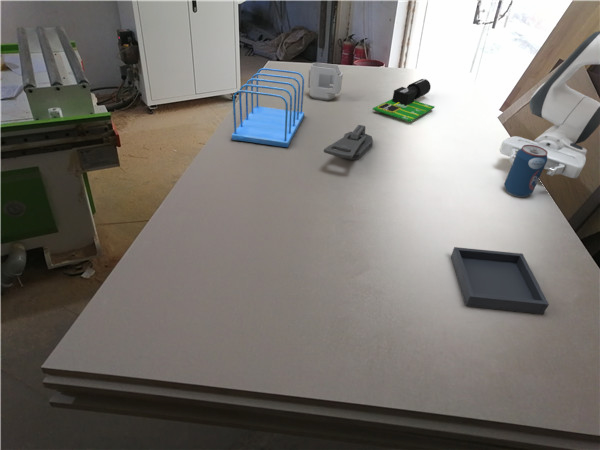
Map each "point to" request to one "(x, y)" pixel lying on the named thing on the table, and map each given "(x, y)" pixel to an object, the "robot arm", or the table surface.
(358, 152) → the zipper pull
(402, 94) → the circuit board with cylinder
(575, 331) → the table surface
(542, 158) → the soda can
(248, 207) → the table surface
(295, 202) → the table surface
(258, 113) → the file sorter
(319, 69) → the cable organizer
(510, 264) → the tray
